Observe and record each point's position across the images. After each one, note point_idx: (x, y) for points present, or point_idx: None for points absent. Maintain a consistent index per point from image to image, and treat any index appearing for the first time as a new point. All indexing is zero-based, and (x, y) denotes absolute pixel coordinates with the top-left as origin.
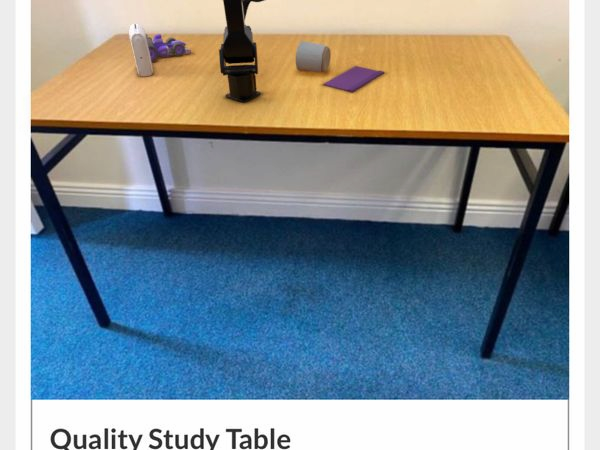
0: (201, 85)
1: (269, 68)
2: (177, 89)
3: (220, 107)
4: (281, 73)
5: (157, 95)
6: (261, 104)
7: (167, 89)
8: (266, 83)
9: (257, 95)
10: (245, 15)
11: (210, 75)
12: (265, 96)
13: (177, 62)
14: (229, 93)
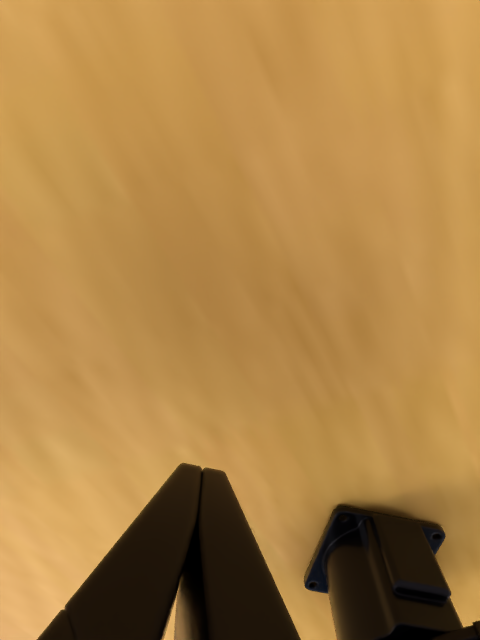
0: (130, 517)
1: (361, 203)
2: (65, 571)
3: (326, 636)
4: (468, 261)
5: (39, 624)
6: (470, 586)
7: (28, 580)
8: (423, 415)
9: (434, 547)
10: (275, 602)
11: (84, 412)
12: (465, 530)
13: None
14: (313, 572)
